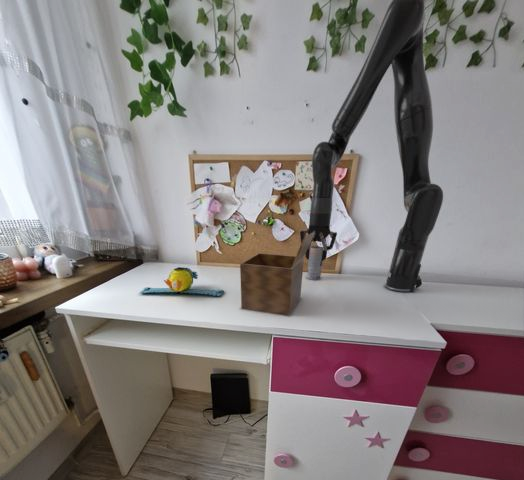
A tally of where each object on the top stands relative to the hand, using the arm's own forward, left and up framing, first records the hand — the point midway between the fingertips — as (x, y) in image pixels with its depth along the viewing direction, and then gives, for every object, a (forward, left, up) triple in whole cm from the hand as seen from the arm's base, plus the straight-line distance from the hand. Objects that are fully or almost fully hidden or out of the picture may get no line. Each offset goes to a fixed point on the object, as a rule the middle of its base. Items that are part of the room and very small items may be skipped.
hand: (315, 259), depth 107 cm
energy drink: (0, 0, -8) cm, 8 cm away
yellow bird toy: (+40, +33, -8) cm, 52 cm away
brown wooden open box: (+8, +32, -7) cm, 34 cm away
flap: (-1, +32, +10) cm, 34 cm away
